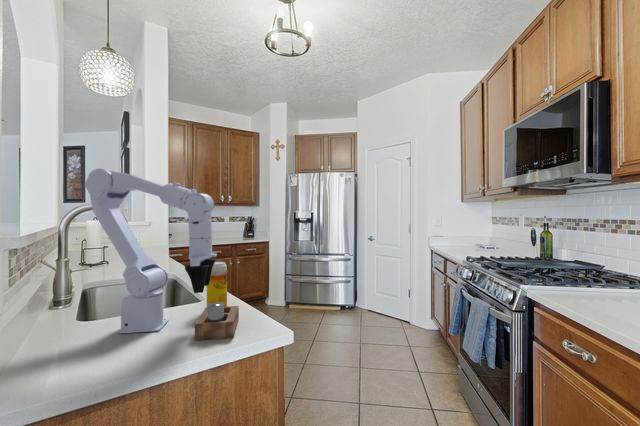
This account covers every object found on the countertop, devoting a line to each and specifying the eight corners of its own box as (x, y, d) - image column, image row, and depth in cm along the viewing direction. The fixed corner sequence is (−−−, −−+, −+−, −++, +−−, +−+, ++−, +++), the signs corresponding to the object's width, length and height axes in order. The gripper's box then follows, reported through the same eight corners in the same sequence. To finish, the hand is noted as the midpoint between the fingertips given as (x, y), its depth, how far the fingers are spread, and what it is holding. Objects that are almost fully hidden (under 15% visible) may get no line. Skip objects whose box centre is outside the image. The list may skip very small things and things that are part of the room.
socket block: (194, 340, 74) (194, 324, 74) (205, 321, 86) (205, 307, 86) (233, 337, 75) (233, 321, 75) (238, 319, 88) (238, 305, 88)
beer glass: (223, 313, 93) (223, 264, 93) (203, 313, 93) (203, 264, 93) (229, 307, 99) (229, 261, 99) (211, 307, 99) (210, 261, 99)
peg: (206, 335, 75) (206, 307, 75) (208, 329, 79) (208, 302, 79) (223, 334, 76) (223, 306, 76) (224, 328, 80) (224, 301, 80)
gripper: (211, 239, 75) (212, 294, 75) (220, 235, 90) (221, 281, 90) (180, 241, 74) (182, 296, 74) (195, 236, 88) (196, 283, 88)
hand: (201, 288), depth 82 cm, fingers open, 7 cm apart
